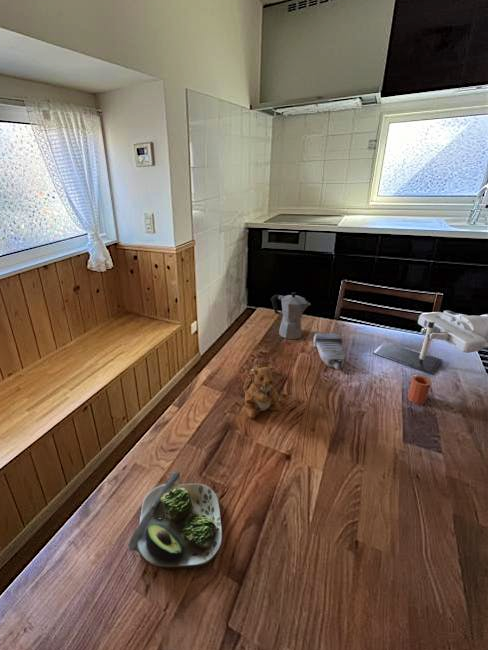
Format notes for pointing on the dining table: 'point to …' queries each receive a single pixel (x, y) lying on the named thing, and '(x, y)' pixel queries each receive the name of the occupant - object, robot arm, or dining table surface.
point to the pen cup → (419, 389)
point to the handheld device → (330, 349)
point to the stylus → (426, 340)
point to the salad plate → (178, 526)
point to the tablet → (408, 357)
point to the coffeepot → (290, 314)
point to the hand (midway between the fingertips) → (426, 333)
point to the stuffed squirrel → (260, 391)
